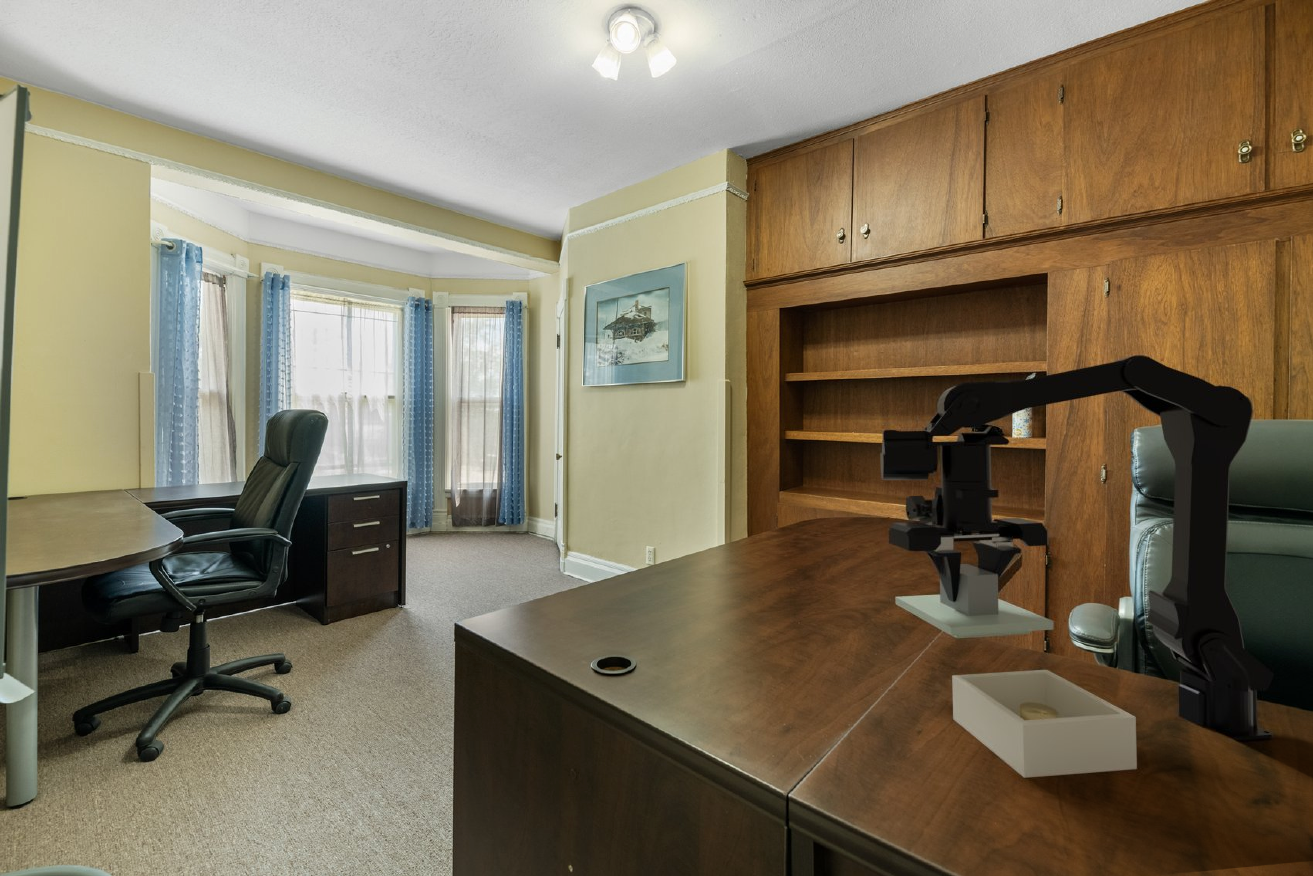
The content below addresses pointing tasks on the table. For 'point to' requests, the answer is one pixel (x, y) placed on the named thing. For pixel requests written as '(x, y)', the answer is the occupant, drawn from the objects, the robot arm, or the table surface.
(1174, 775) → the table surface
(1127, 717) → the box
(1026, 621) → the lid
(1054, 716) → the brass weight
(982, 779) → the table surface
